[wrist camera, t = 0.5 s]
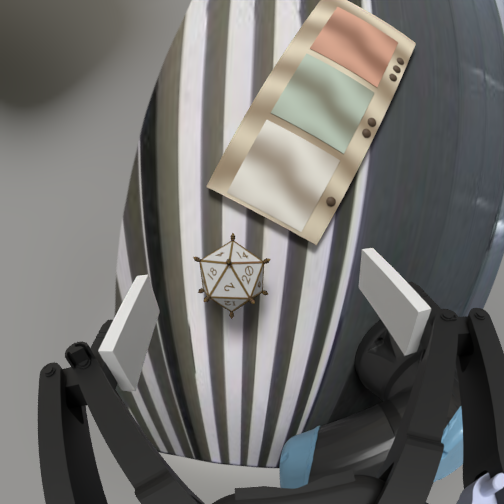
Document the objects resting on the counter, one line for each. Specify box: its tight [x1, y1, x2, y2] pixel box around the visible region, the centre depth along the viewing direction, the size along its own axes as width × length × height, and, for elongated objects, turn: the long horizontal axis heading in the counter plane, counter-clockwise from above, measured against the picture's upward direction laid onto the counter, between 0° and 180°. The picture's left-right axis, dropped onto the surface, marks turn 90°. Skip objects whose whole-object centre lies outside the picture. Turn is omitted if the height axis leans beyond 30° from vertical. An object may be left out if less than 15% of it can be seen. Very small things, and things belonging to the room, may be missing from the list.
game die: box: [193, 233, 270, 319], centre depth 32 cm, size 9×8×10 cm
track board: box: [207, 0, 416, 245], centre depth 30 cm, size 35×15×1 cm, turn 152°
